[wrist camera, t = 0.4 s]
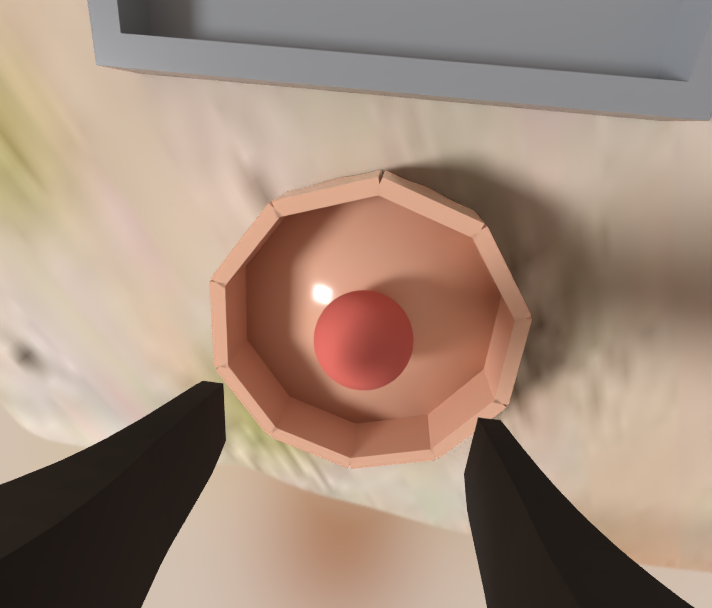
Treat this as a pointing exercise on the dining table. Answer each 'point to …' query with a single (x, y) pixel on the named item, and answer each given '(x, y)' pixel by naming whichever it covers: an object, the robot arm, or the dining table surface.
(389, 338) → the ball
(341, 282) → the pink bowl
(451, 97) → the tray
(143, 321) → the dining table surface
